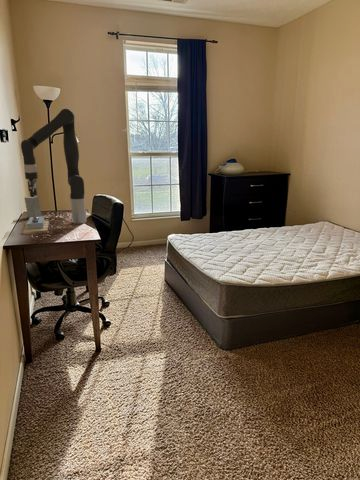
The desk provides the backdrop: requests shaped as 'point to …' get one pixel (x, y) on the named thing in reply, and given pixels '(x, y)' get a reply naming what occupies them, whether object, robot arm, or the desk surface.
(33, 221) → the bosses
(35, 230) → the board
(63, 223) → the desk surface
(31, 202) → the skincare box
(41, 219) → the panel
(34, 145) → the robot arm
